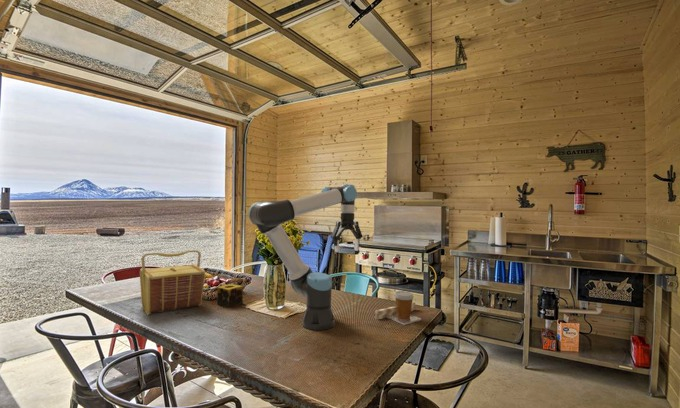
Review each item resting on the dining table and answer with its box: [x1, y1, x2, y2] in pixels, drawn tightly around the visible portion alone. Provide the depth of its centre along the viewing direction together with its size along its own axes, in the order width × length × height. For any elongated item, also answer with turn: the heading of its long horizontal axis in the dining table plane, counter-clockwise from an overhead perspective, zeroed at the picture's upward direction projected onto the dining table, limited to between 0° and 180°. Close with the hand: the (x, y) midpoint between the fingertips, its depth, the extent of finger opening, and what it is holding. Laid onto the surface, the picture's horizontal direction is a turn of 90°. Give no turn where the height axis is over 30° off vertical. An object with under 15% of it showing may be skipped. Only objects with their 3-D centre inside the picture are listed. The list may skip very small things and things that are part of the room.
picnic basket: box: [139, 249, 206, 315], centre depth 175 cm, size 29×26×30 cm
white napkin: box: [386, 314, 422, 326], centre depth 163 cm, size 12×12×1 cm
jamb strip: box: [374, 301, 416, 320], centre depth 170 cm, size 28×2×4 cm, turn 126°
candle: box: [216, 283, 244, 308], centre depth 183 cm, size 10×10×10 cm
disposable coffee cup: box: [394, 290, 415, 319], centre depth 163 cm, size 10×10×12 cm
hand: (346, 251), depth 178 cm, fingers open, 13 cm apart
